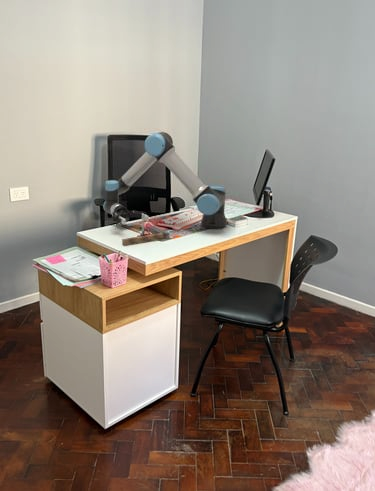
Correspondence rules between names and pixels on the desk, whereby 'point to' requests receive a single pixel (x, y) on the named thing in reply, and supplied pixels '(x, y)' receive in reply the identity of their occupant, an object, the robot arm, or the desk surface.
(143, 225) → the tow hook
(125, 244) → the guide track
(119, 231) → the desk surface
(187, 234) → the desk surface
